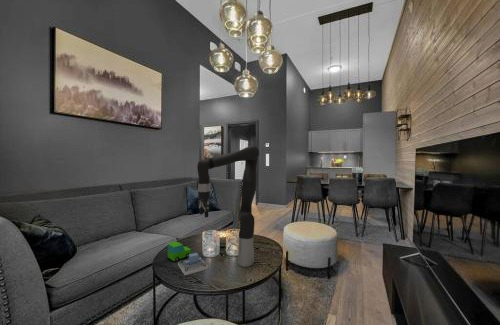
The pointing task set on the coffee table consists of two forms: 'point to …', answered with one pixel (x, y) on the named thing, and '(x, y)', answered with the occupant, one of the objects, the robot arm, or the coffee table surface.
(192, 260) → the block
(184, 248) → the toy car
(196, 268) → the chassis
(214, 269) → the coffee table surface
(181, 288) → the coffee table surface
